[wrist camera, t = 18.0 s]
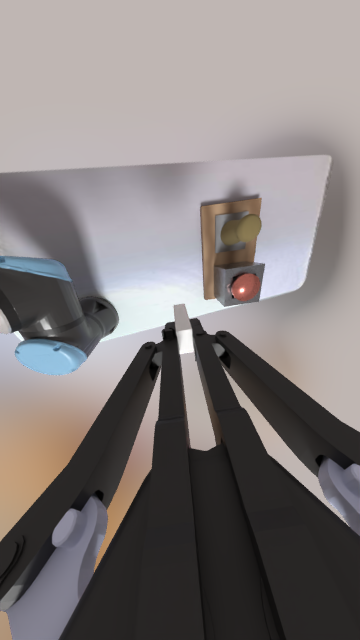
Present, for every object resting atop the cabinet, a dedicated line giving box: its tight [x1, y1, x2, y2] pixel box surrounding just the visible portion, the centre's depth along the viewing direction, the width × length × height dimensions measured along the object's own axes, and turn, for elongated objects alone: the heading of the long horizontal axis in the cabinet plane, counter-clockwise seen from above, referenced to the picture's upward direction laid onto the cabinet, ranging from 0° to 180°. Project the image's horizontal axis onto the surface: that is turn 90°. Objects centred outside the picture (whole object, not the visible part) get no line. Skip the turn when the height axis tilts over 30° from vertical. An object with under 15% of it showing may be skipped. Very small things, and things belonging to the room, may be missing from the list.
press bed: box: [200, 198, 262, 300], centre depth 41 cm, size 16×26×3 cm, turn 7°
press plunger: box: [231, 273, 260, 301], centre depth 38 cm, size 7×7×9 cm
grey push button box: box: [213, 261, 265, 307], centre depth 40 cm, size 10×10×10 cm
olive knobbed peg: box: [220, 214, 261, 246], centre depth 33 cm, size 6×6×11 cm
